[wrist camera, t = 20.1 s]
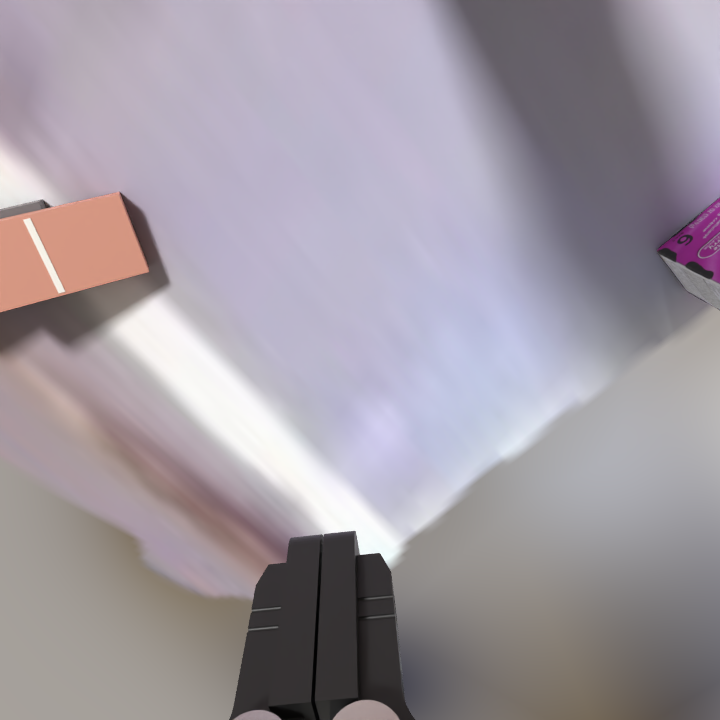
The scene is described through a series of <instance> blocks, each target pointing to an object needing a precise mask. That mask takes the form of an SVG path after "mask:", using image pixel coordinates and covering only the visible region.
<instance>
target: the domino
mask: <svg viewBox="0 0 720 720" xmlns="http://www.w3.org/2000/svg"><path fill="white" fill-rule="evenodd" d="M147 272H149V266H148V264H147V261H146V259H145V256H144V253H143V251H142V248H141V246H140V243H139V240H138V238H137V235H136V233H135V230H134V228H133V225H132V222H131V220H130V217H129V215H128V212H127V209H126V207H125V204H124V202H123V199H122V197H121V194H120V192H117V193H112V194H108V195H104V196H99V197H95V198H90V199H86V200H82V201H77V202H73V203H68V204H64V205H59V206H55V207H51V208H46V209H42V210H37V211H33V212H28V213H24V214H20V215H15V216H11V217H6V218H2V219H0V312H3V311H7V310H11V309H14V308H18V307H22V306H25V305H29V304H33V303H36V302H40V301H44V300H47V299H51V298H55V297H59V296H62V295H66V294H70V293H73V292H77V291H81V290H84V289H88V288H92V287H95V286H99V285H103V284H106V283H110V282H114V281H118V280H121V279H125V278H129V277H132V276H136V275H140V274H143V273H147Z"/></svg>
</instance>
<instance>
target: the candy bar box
mask: <svg viewBox="0 0 720 720" xmlns="http://www.w3.org/2000/svg"><path fill="white" fill-rule="evenodd" d="M657 253H658V254H659V255H660V257H661V258H662V260H663V261H664V262H665V263H666V264H667V265H668V266H669V267H670V269H671V270H672V271H673V273H674V274H675V276H676V277H677V278H678V280H679V281H680V282H681V284H682V285H683V286H684V288H685V289H686V290H687V291H688V292H689V293H691V294H692V295H694V296H696V297H697V298H699V299H701V300H703V301H704V302H706V303H709V304H710V305H712V306H714V307H715V308H717V309H719V310H720V198H719V199H717V200H716V201H715V202H714V203H713V204H711V205H710V206H709V207H708V208H707V209H706V210H704V211H703V212H702V213H701V214H700V215H698V216H697V217H696V218H695V219H694V220H692V221H691V222H690V223H689V224H688V225H686V226H685V227H684V228H683V229H682V230H680V231H679V232H678V233H677V234H675V235H674V236H673V237H672V238H671V239H669V240H668V241H667V242H666V243H665V244H663V245H662V246H661V247H660V248H659V249H657Z"/></svg>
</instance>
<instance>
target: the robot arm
mask: <svg viewBox="0 0 720 720" xmlns="http://www.w3.org/2000/svg"><path fill="white" fill-rule="evenodd" d="M248 629H249V630H248V633H247V637H246V642H245V648H244V654H243V658H242V664H241V669H240V675H239V680H238V686H237V691H236V697H235V702H234V707H233V711H232V714H231V717H230V719H229V720H415V719H414V718H413V716H412V715H411V713H410V712H409V710H408V708H407V706H406V703H405V697H404V687H403V677H402V666H401V656H400V647H399V636H398V626H397V616H396V608H395V600H394V592H393V585H392V576H391V571H390V569H389V568H388V566H387V564H386V563H385V561H384V559H383V558H382V556H381V554H380V553H376V554H366V555H360V554H359V548H358V542H357V536H356V532H355V531H349V532H340V533H330V534H324V537H323V535H313V536H303V537H293V538H291V539H290V541H289V547H288V554H287V562H286V563H280V564H270V565H268V567H267V568H266V570H265V571H264V573H263V575H262V576H261V578H260V580H259V581H258V583H257V585H256V588H255V593H254V599H253V604H252V613H251V615H250V620H249V626H248Z"/></svg>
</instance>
